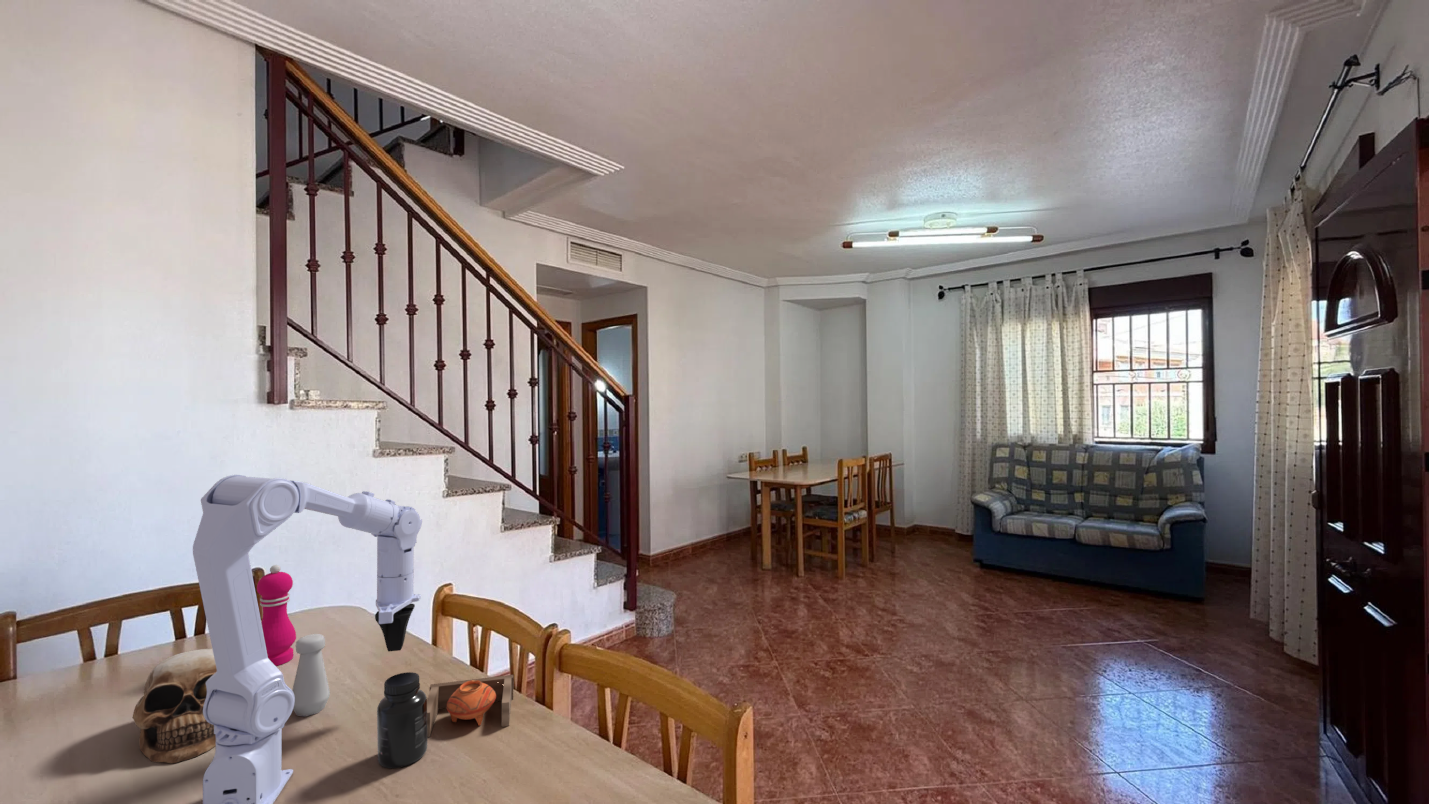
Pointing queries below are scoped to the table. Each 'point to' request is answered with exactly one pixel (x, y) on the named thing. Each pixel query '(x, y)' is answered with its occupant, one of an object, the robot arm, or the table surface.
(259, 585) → the pepper mill
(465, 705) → the pot
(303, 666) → the salt shaker
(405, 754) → the supplement bottle
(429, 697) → the cradle
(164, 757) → the skull
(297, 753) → the table surface
